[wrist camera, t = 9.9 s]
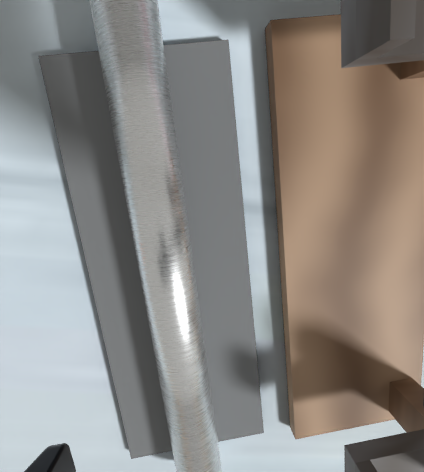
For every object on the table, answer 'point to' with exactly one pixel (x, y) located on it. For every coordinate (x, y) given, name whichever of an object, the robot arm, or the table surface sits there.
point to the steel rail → (158, 220)
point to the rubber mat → (200, 230)
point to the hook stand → (352, 222)
